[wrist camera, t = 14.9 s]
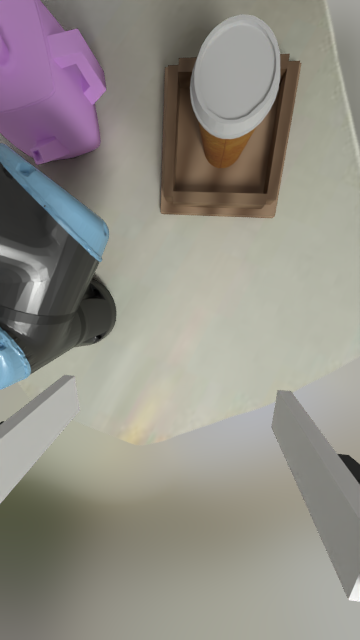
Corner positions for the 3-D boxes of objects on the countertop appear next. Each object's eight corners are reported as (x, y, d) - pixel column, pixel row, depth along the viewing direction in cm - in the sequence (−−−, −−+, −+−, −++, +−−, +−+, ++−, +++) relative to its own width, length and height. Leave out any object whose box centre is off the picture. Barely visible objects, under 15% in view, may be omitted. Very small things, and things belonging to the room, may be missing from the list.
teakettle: (125, 101, 32) (79, 1, 20) (78, 195, 36) (19, 159, 25) (40, 28, 31) (-63, -124, 19) (3, 135, 35) (-98, 66, 23)
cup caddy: (161, 213, 36) (157, 207, 32) (166, 75, 30) (161, 49, 27) (272, 218, 34) (280, 212, 30) (297, 71, 28) (311, 43, 25)
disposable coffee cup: (216, 95, 29) (225, -17, 18) (266, 131, 30) (306, 45, 18) (183, 159, 32) (172, 97, 20) (229, 191, 32) (245, 148, 21)
